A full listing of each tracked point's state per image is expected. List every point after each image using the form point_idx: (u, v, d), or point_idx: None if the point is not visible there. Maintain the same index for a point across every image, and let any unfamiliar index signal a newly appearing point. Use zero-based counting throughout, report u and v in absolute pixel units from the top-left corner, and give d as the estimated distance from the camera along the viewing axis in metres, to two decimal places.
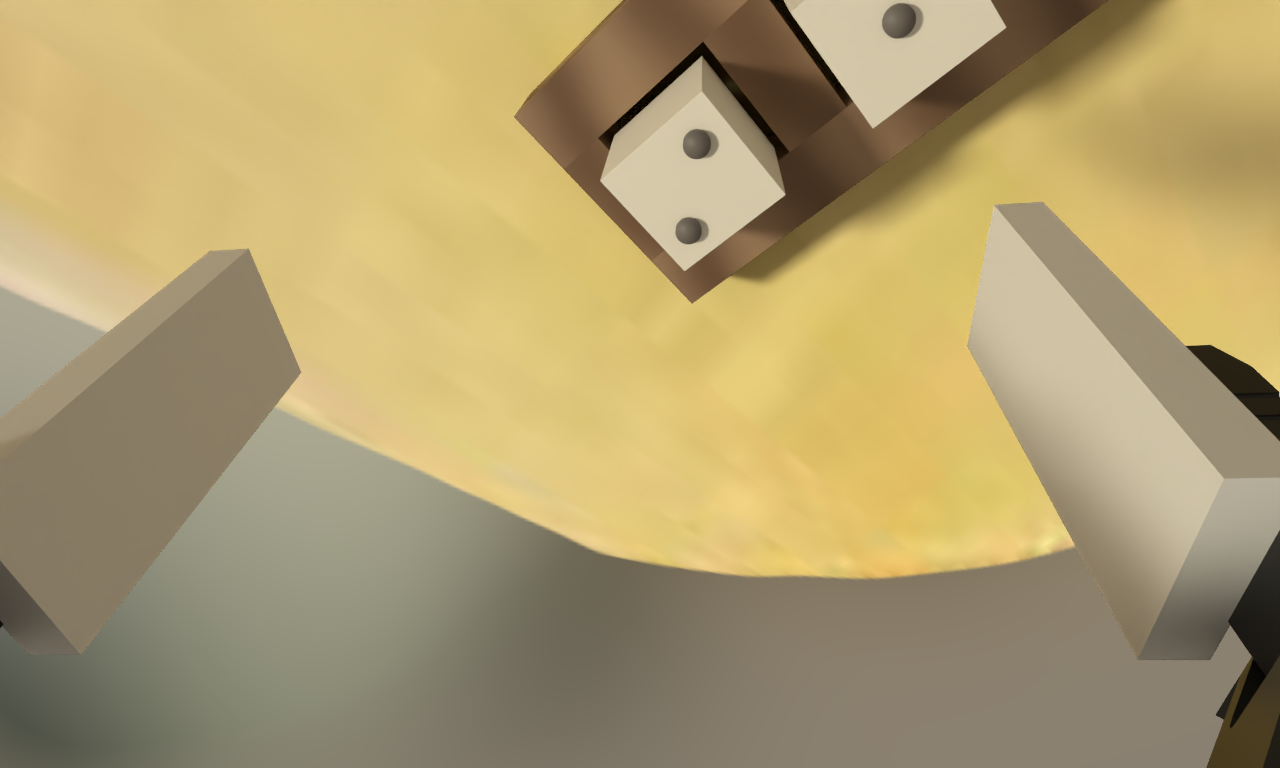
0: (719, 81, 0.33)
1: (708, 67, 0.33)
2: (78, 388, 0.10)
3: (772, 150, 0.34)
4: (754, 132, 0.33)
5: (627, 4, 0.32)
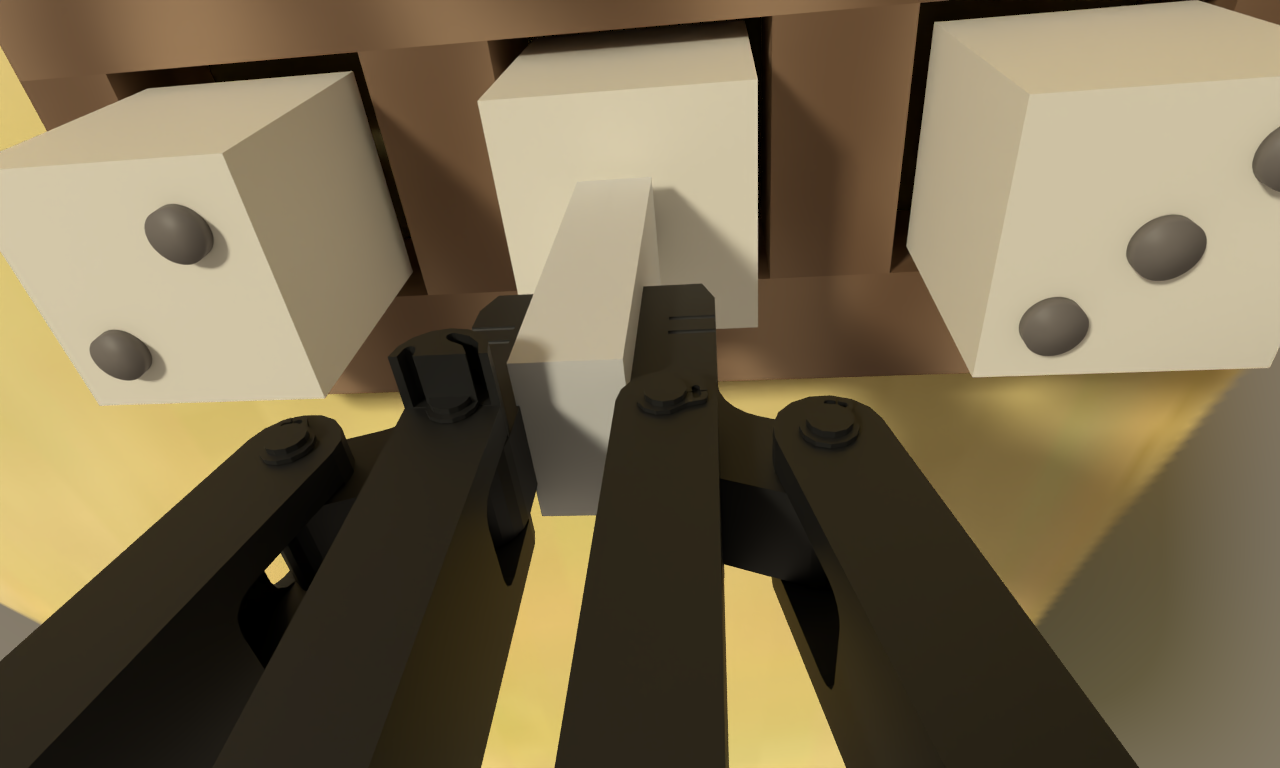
0: (358, 130, 0.18)
1: (348, 97, 0.18)
2: (578, 281, 0.11)
3: (396, 281, 0.20)
4: (367, 246, 0.18)
5: None
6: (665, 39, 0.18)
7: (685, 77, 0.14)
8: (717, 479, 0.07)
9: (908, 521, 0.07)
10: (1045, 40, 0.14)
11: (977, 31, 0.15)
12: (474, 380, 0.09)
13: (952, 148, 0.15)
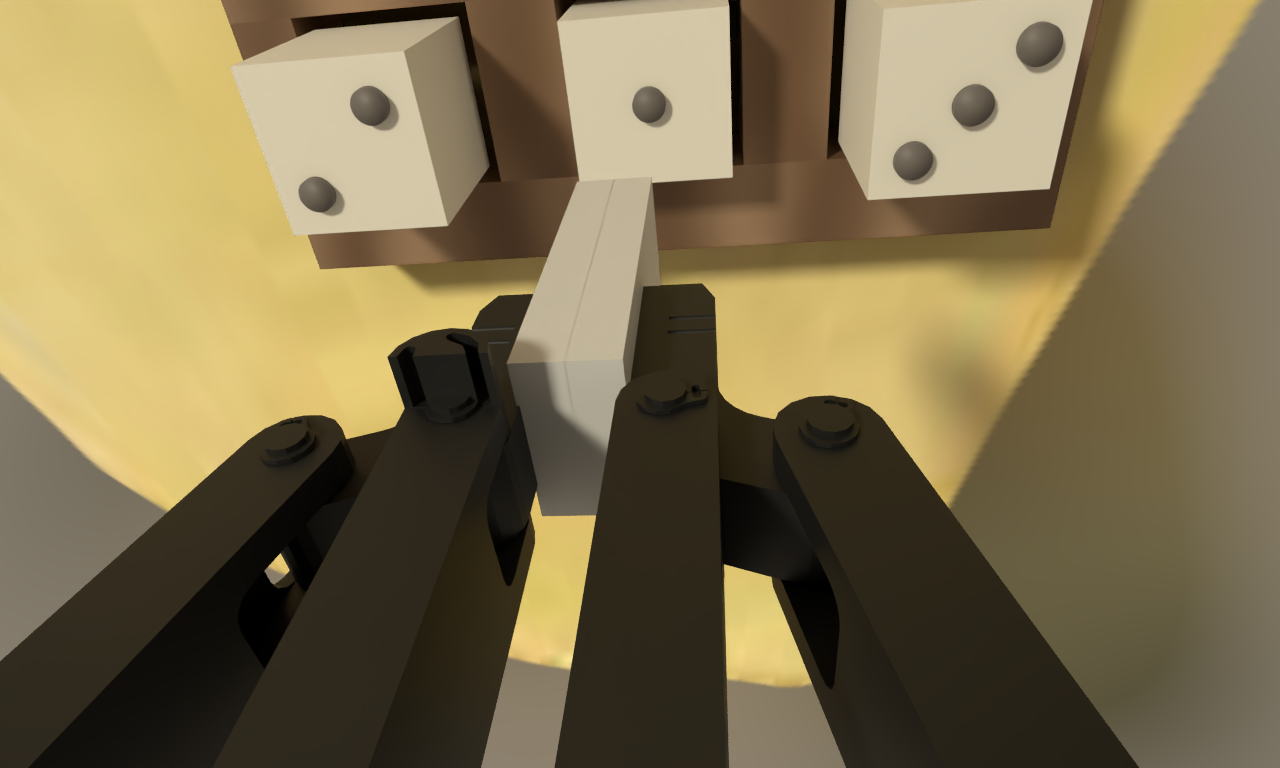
0: (461, 57, 0.27)
1: (456, 33, 0.26)
2: (578, 281, 0.11)
3: (481, 168, 0.28)
4: (466, 137, 0.27)
5: None
6: None
7: (685, 7, 0.23)
8: (717, 479, 0.07)
9: (908, 521, 0.07)
10: None
11: None
12: (474, 380, 0.09)
13: (856, 59, 0.24)
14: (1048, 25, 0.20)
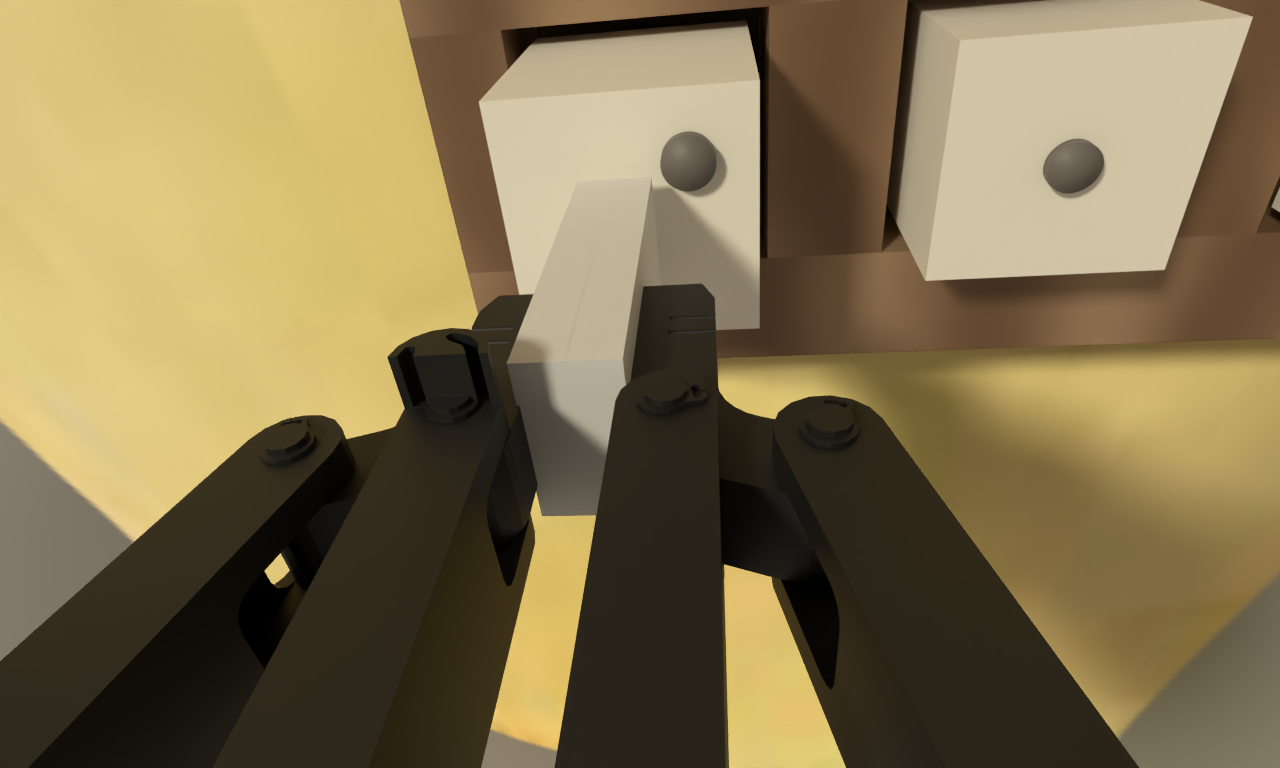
0: None
1: None
2: (578, 281, 0.11)
3: None
4: None
5: None
6: None
7: (1162, 17, 0.15)
8: (717, 479, 0.07)
9: (908, 521, 0.07)
10: None
11: None
12: (474, 380, 0.09)
13: None
14: None
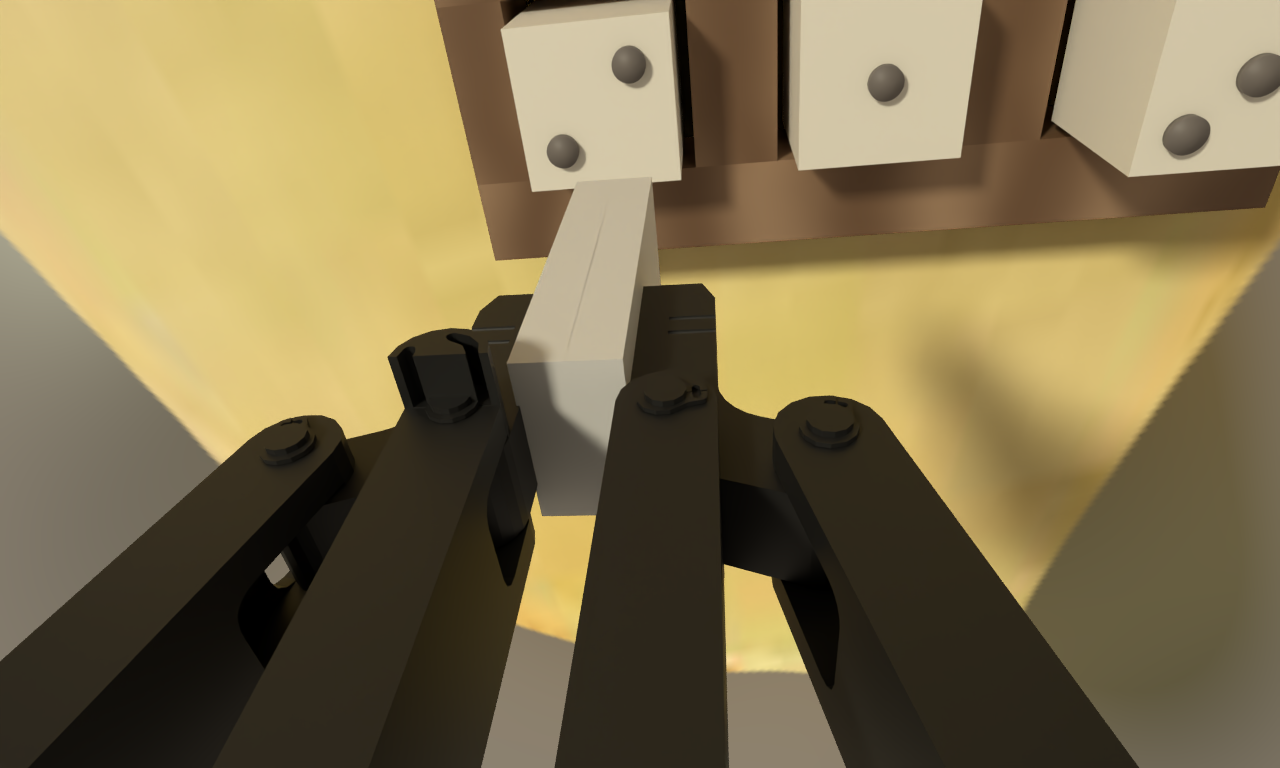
0: (675, 24, 0.28)
1: (674, 1, 0.28)
2: (578, 281, 0.11)
3: (683, 130, 0.30)
4: None
5: None
6: None
7: None
8: (717, 479, 0.07)
9: (908, 521, 0.07)
10: None
11: None
12: (474, 380, 0.09)
13: (1105, 32, 0.23)
14: None
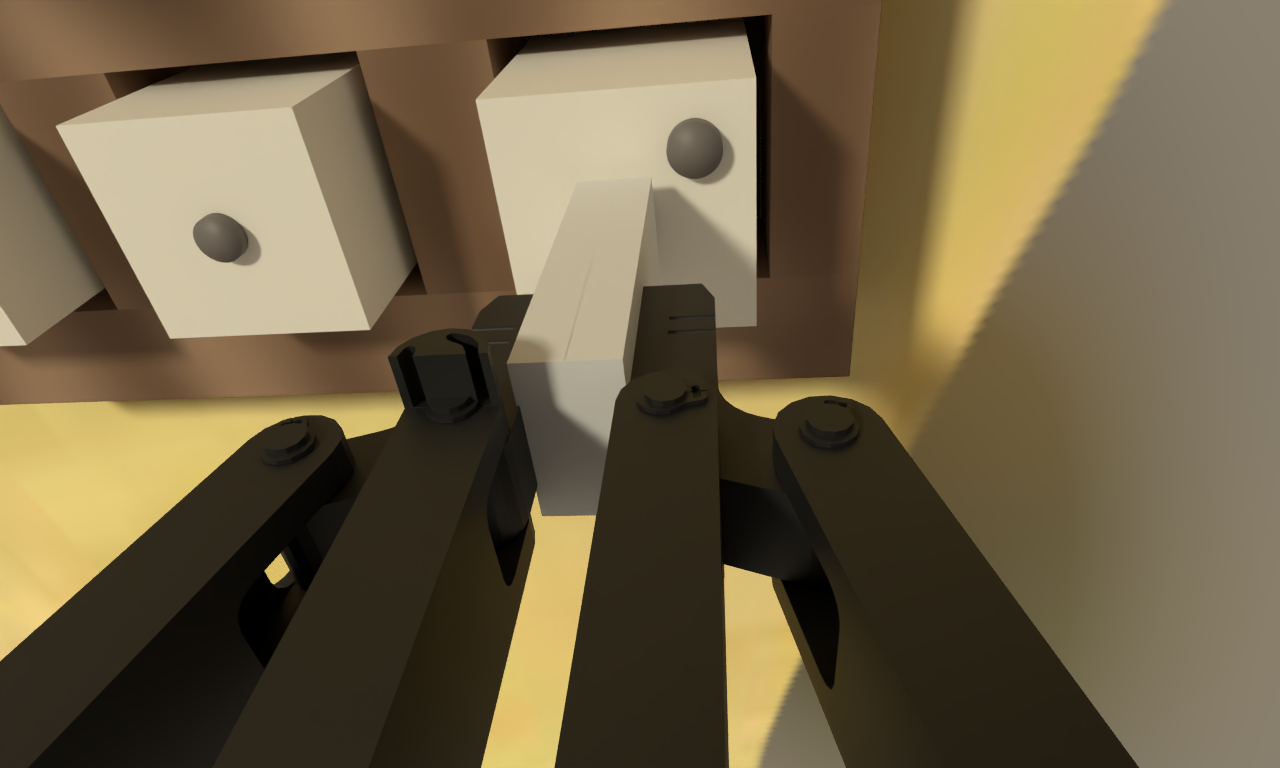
0: None
1: None
2: (578, 281, 0.11)
3: None
4: None
5: None
6: (297, 64, 0.19)
7: (244, 104, 0.16)
8: (717, 479, 0.07)
9: (908, 521, 0.07)
10: (573, 53, 0.17)
11: (545, 45, 0.18)
12: (474, 380, 0.09)
13: None
14: (697, 125, 0.14)
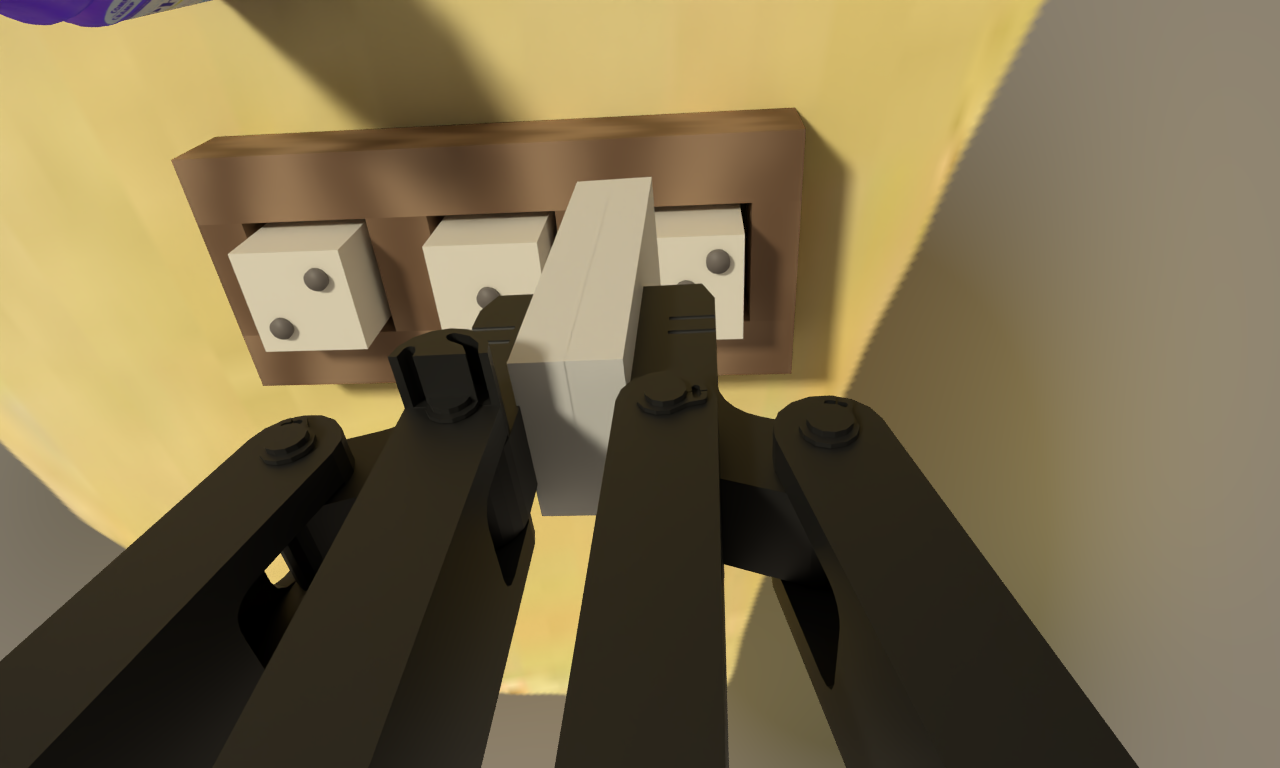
0: None
1: None
2: (578, 281, 0.11)
3: None
4: None
5: (316, 153, 0.35)
6: None
7: (510, 238, 0.35)
8: (717, 479, 0.07)
9: (908, 521, 0.07)
10: (658, 210, 0.37)
11: None
12: (474, 380, 0.09)
13: None
14: (719, 252, 0.34)
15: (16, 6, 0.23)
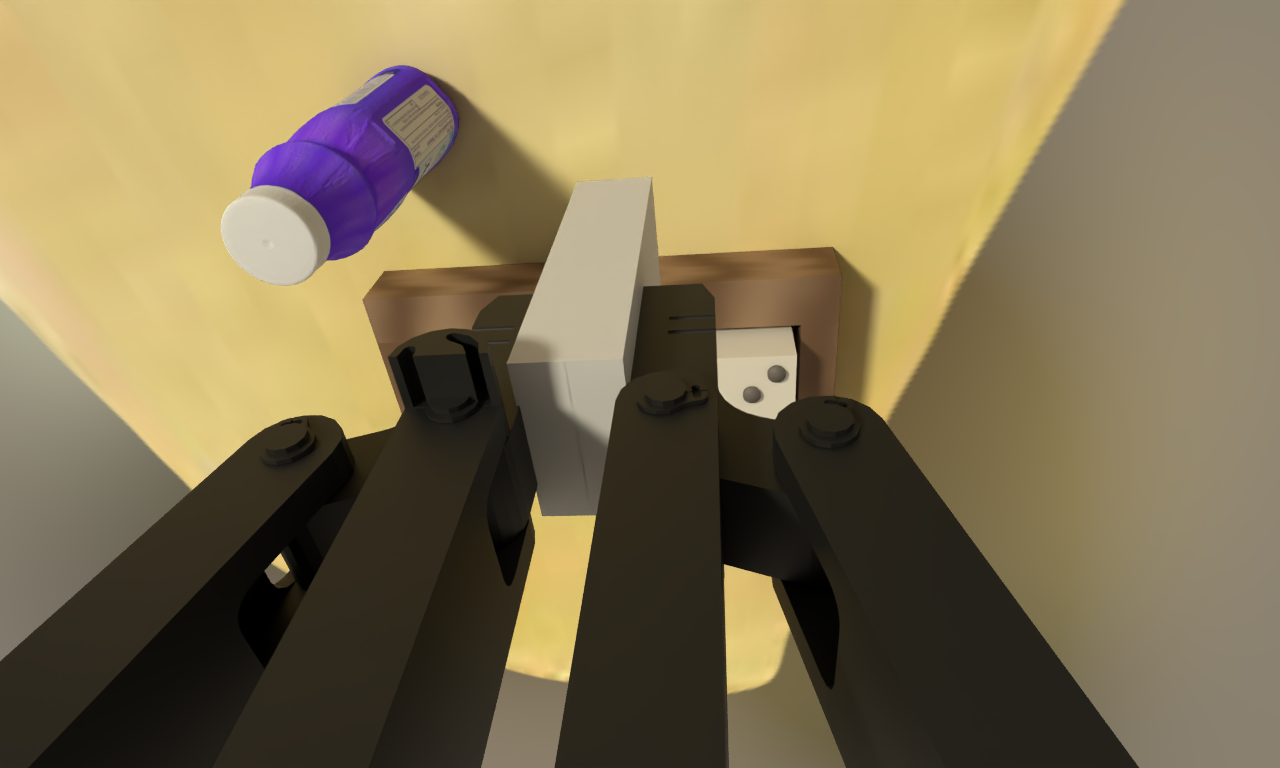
0: None
1: None
2: (578, 281, 0.11)
3: None
4: None
5: (471, 294, 0.47)
6: None
7: None
8: (717, 479, 0.07)
9: (908, 521, 0.07)
10: (728, 328, 0.48)
11: None
12: (474, 380, 0.09)
13: None
14: (778, 368, 0.45)
15: None
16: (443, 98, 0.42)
